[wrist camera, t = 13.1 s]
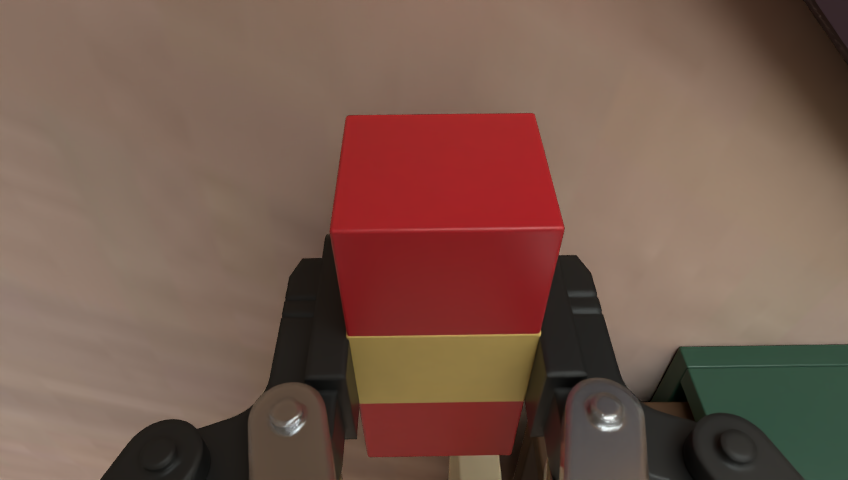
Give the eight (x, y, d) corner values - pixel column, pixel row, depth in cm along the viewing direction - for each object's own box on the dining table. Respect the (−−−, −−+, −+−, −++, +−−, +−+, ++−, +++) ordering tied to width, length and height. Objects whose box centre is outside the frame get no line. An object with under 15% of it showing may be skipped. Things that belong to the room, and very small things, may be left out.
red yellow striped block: (499, 347, 16) (512, 457, 14) (372, 349, 16) (366, 459, 14) (535, 110, 10) (567, 229, 8) (344, 113, 10) (326, 232, 8)
